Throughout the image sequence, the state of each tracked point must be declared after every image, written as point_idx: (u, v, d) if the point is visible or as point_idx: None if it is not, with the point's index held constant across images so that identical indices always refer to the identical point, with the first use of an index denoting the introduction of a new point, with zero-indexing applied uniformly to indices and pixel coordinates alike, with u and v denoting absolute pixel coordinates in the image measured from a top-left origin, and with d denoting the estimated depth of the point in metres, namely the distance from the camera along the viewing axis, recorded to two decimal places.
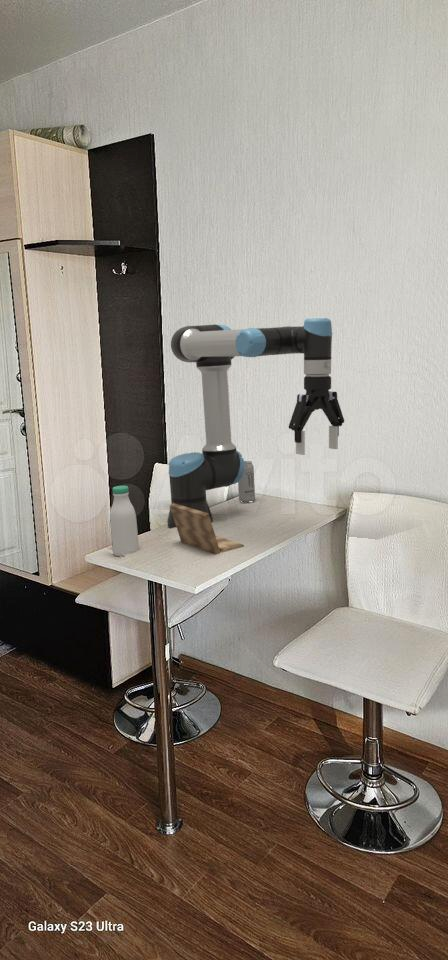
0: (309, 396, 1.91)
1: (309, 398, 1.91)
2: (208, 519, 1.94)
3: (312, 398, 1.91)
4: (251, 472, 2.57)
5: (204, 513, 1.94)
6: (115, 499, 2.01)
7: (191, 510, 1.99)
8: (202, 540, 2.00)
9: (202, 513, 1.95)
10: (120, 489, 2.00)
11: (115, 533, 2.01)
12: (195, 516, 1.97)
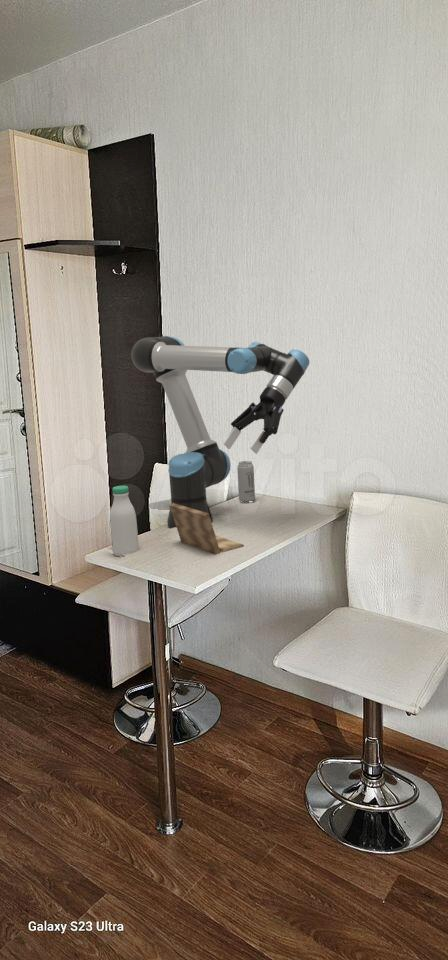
0: None
1: None
2: (208, 519, 1.94)
3: None
4: (251, 472, 2.57)
5: (204, 513, 1.94)
6: (115, 499, 2.01)
7: (191, 510, 1.99)
8: (202, 540, 2.00)
9: (202, 513, 1.95)
10: (120, 489, 2.00)
11: (115, 533, 2.01)
12: (195, 516, 1.97)
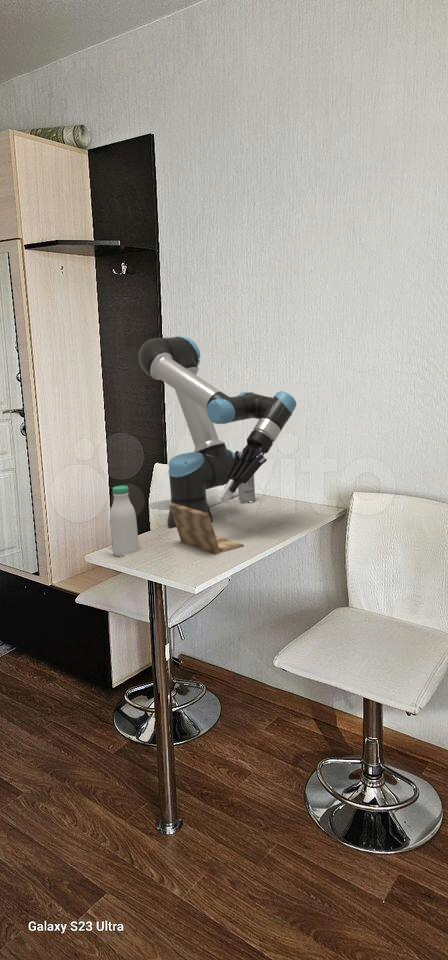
0: (262, 455, 2.09)
1: None
2: (208, 519, 1.94)
3: None
4: None
5: (204, 513, 1.94)
6: (115, 499, 2.01)
7: (191, 510, 1.99)
8: (202, 540, 2.00)
9: (202, 513, 1.95)
10: (120, 489, 2.00)
11: (115, 533, 2.01)
12: (195, 516, 1.97)
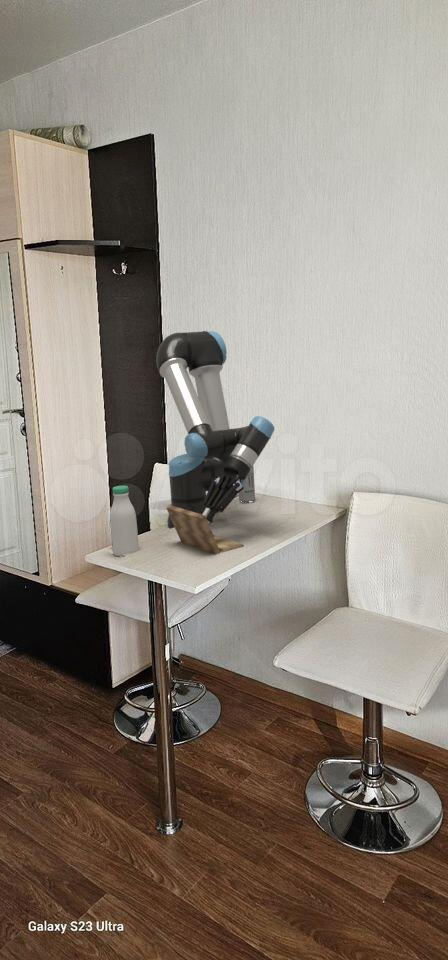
0: (239, 483, 2.04)
1: None
2: (205, 521, 1.93)
3: None
4: (251, 472, 2.57)
5: (200, 515, 1.94)
6: (115, 499, 2.01)
7: (187, 512, 1.98)
8: (201, 541, 2.00)
9: (198, 515, 1.94)
10: (120, 489, 2.00)
11: (115, 533, 2.01)
12: (192, 519, 1.96)
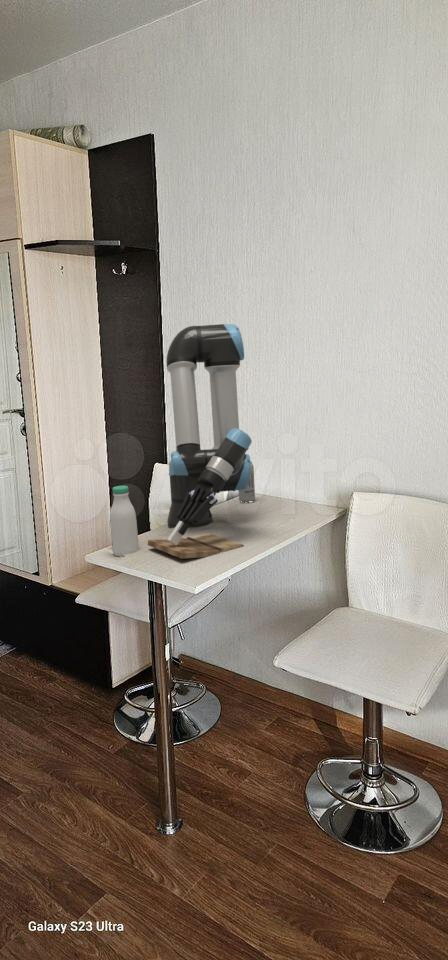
0: (214, 496, 2.00)
1: None
2: (186, 555, 1.91)
3: None
4: (251, 472, 2.57)
5: (179, 554, 1.91)
6: (115, 499, 2.01)
7: (167, 550, 1.96)
8: None
9: (177, 554, 1.91)
10: (120, 489, 2.00)
11: (115, 533, 2.01)
12: None
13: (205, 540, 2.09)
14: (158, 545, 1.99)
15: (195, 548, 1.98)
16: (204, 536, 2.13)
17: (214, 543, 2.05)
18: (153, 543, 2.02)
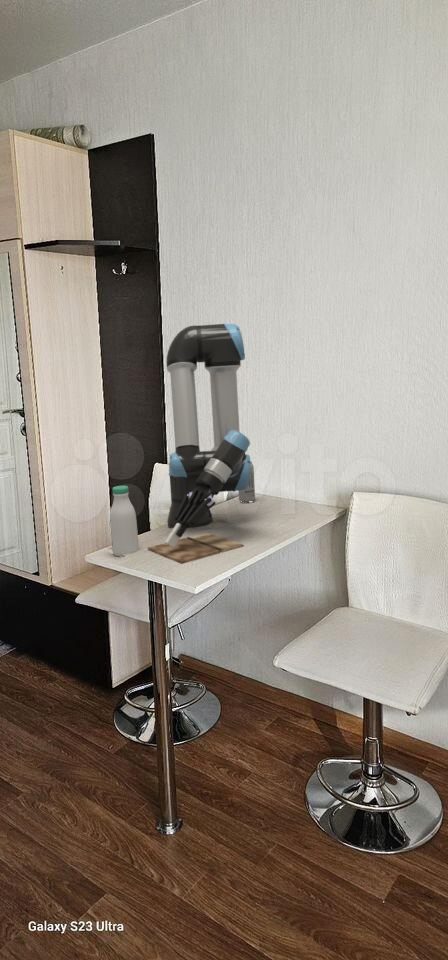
0: (211, 498, 2.00)
1: None
2: (186, 561, 1.91)
3: None
4: (251, 472, 2.57)
5: (179, 562, 1.91)
6: (115, 499, 2.01)
7: None
8: None
9: None
10: (120, 489, 2.00)
11: (115, 533, 2.01)
12: None
13: (205, 540, 2.09)
14: (158, 553, 2.00)
15: (195, 551, 1.98)
16: (204, 536, 2.13)
17: (214, 543, 2.05)
18: (153, 550, 2.02)
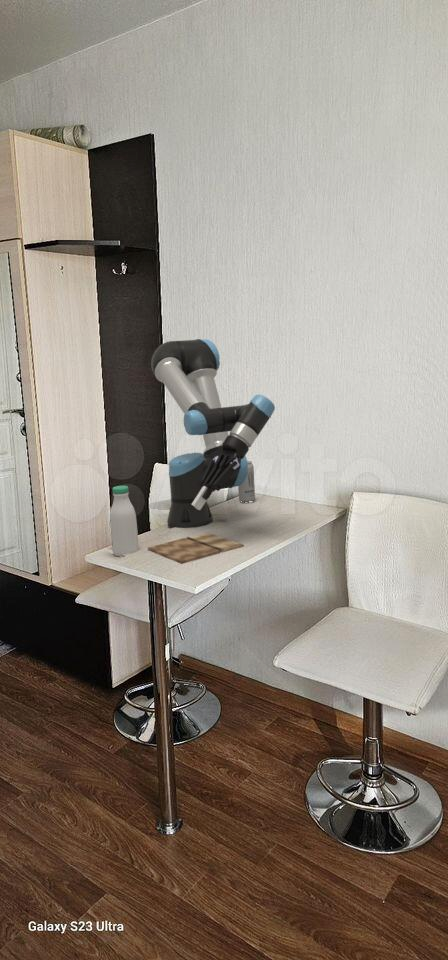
0: (237, 461, 2.02)
1: None
2: (186, 561, 1.91)
3: None
4: (251, 472, 2.57)
5: (179, 562, 1.91)
6: (115, 499, 2.01)
7: None
8: None
9: None
10: (120, 489, 2.00)
11: (115, 533, 2.01)
12: None
13: (205, 540, 2.09)
14: (158, 553, 2.00)
15: (195, 551, 1.98)
16: (204, 536, 2.13)
17: (214, 543, 2.05)
18: (153, 550, 2.02)
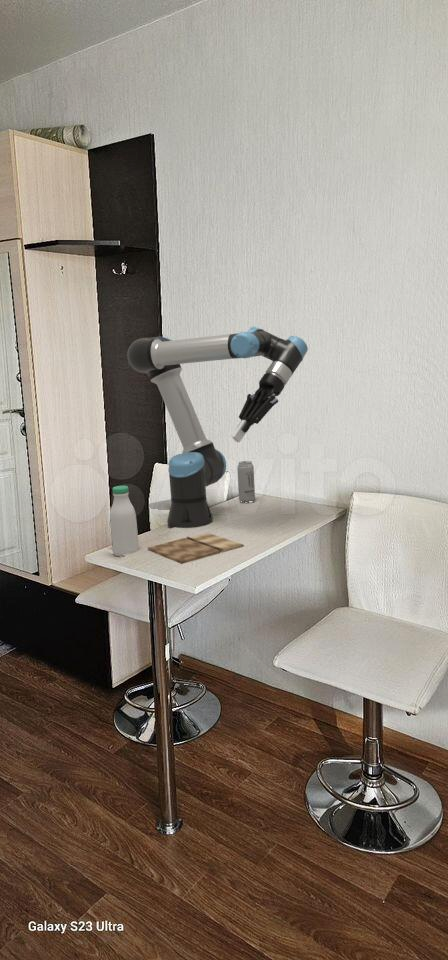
0: (274, 397, 2.14)
1: None
2: (186, 561, 1.91)
3: None
4: (251, 472, 2.57)
5: (179, 562, 1.91)
6: (115, 499, 2.01)
7: None
8: None
9: None
10: (120, 489, 2.00)
11: (115, 533, 2.01)
12: None
13: (205, 540, 2.09)
14: (158, 553, 2.00)
15: (195, 551, 1.98)
16: (204, 536, 2.13)
17: (214, 543, 2.05)
18: (153, 550, 2.02)
